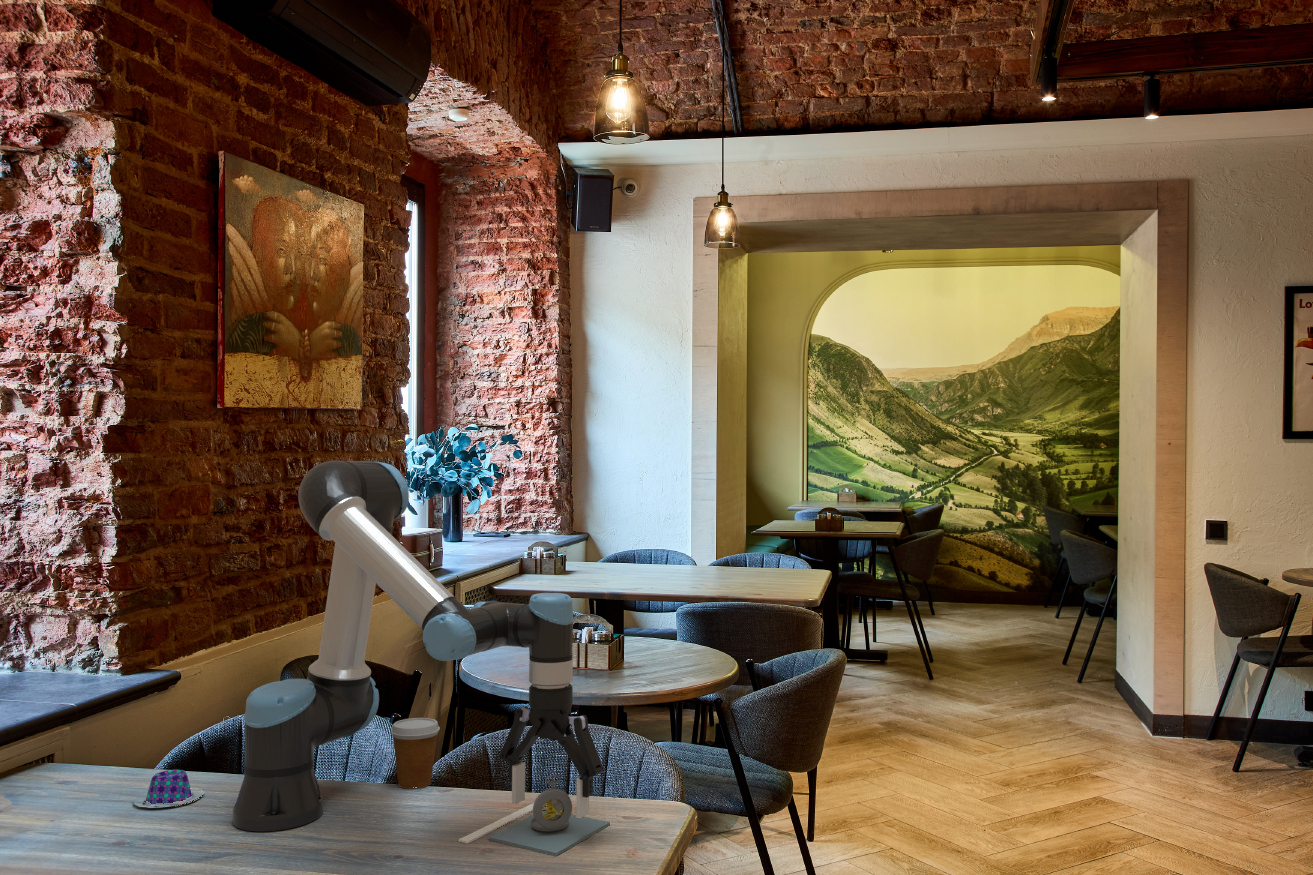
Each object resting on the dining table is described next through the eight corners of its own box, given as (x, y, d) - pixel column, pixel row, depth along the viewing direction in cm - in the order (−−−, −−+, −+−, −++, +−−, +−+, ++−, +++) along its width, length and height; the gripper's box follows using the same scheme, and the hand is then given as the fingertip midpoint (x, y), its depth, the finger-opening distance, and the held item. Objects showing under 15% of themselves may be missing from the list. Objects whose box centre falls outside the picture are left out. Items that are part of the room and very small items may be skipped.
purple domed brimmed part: (214, 790, 187) (215, 763, 187) (187, 811, 175) (187, 782, 175) (152, 791, 186) (152, 764, 187) (120, 812, 174) (120, 783, 175)
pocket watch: (551, 817, 170) (551, 760, 170) (583, 828, 164) (584, 769, 164) (515, 829, 163) (515, 770, 164) (548, 842, 158) (548, 780, 158)
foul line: (458, 841, 160) (458, 839, 160) (537, 802, 179) (537, 801, 179) (467, 843, 159) (467, 841, 159) (545, 804, 178) (545, 802, 178)
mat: (488, 839, 160) (488, 836, 160) (545, 811, 174) (545, 808, 174) (556, 856, 153) (556, 852, 153) (609, 824, 167) (609, 821, 167)
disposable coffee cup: (426, 793, 184) (427, 730, 185) (381, 789, 186) (382, 727, 187) (447, 778, 194) (447, 718, 194) (403, 775, 195) (404, 716, 196)
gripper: (623, 687, 162) (623, 814, 161) (507, 672, 174) (506, 790, 173) (599, 696, 155) (598, 828, 154) (480, 680, 168) (479, 802, 167)
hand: (549, 808), depth 164 cm, fingers open, 13 cm apart
